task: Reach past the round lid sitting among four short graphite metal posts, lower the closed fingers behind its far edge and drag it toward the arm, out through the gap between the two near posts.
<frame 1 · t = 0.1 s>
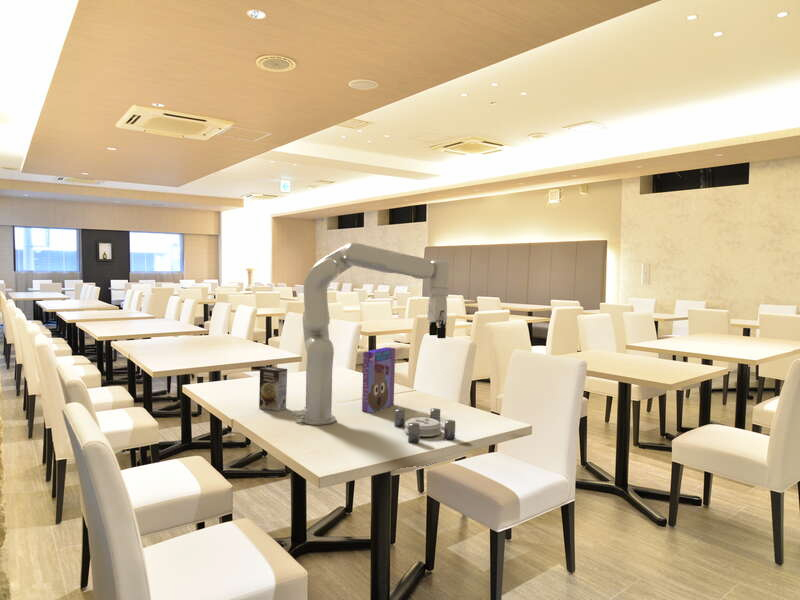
hand: (437, 336, 214), 31 cm above the table, tool pointing down, fingers open, 9 cm apart
post field: (424, 432, 192), on the table
lid: (422, 434, 192), on the table
coffee box: (272, 408, 221), on the table
cereal box: (378, 408, 226), on the table
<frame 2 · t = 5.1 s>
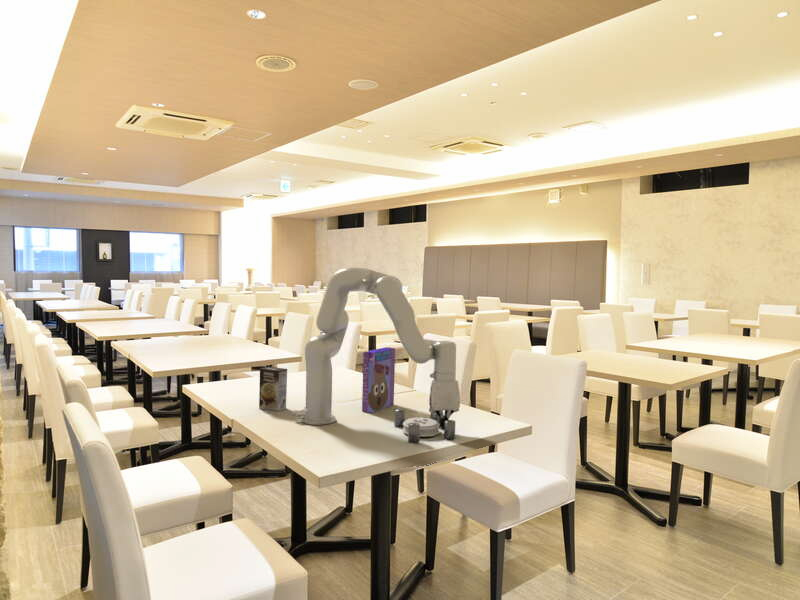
hand: (443, 428, 194), 1 cm above the table, tool pointing down, fingers closed
nothing on the table moved.
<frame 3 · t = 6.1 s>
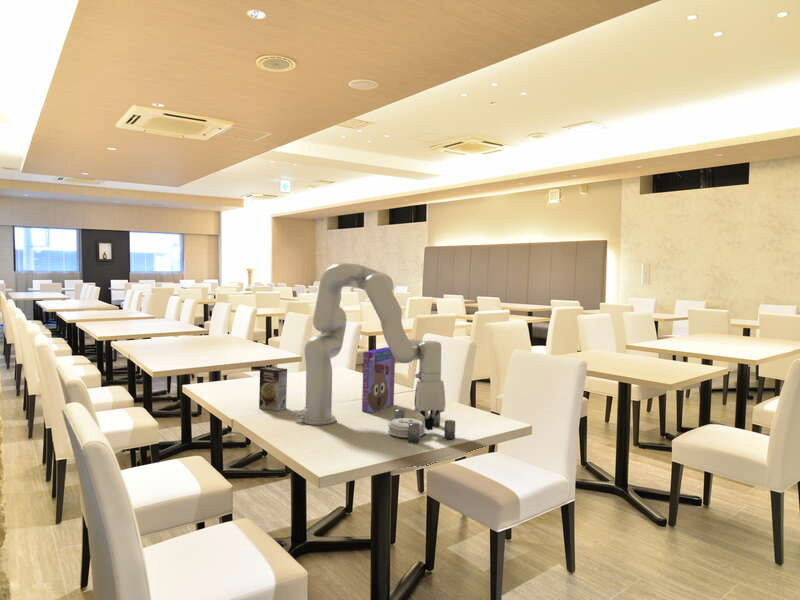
hand: (429, 429, 192), 1 cm above the table, tool pointing down, fingers closed
lid: (406, 435, 190), on the table, touching gripper
everything else where it was.
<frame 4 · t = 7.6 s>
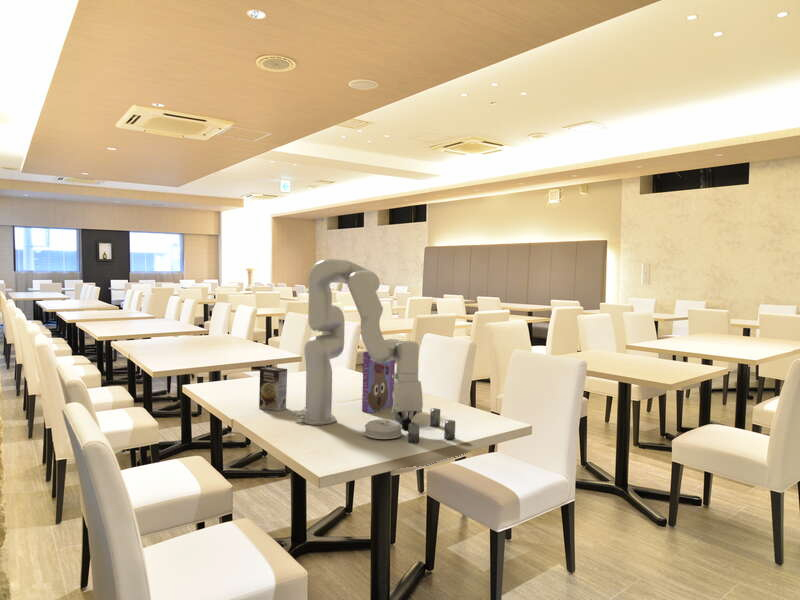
hand: (406, 430, 190), 1 cm above the table, tool pointing down, fingers closed
lid: (383, 436, 188), on the table
everything else where it was.
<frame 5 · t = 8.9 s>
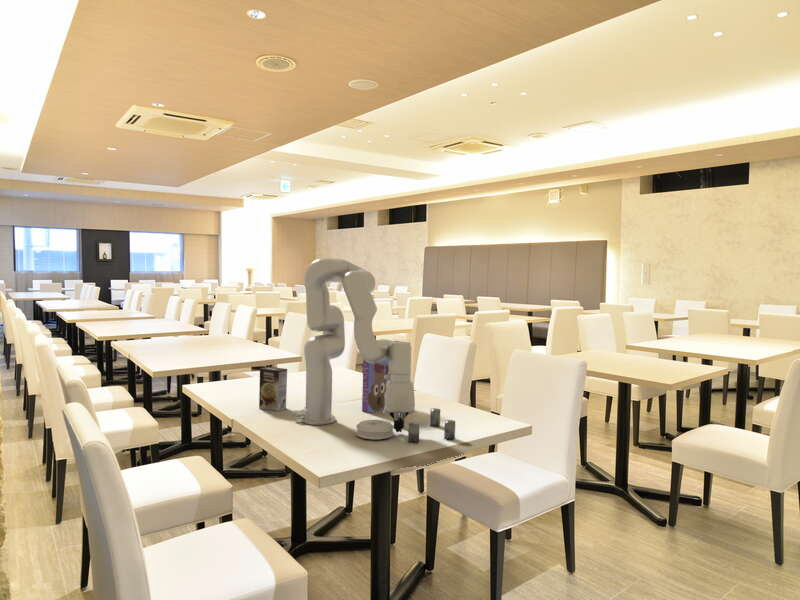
hand: (398, 430, 190), 1 cm above the table, tool pointing down, fingers closed
lid: (374, 437, 187), on the table
everything else where it was.
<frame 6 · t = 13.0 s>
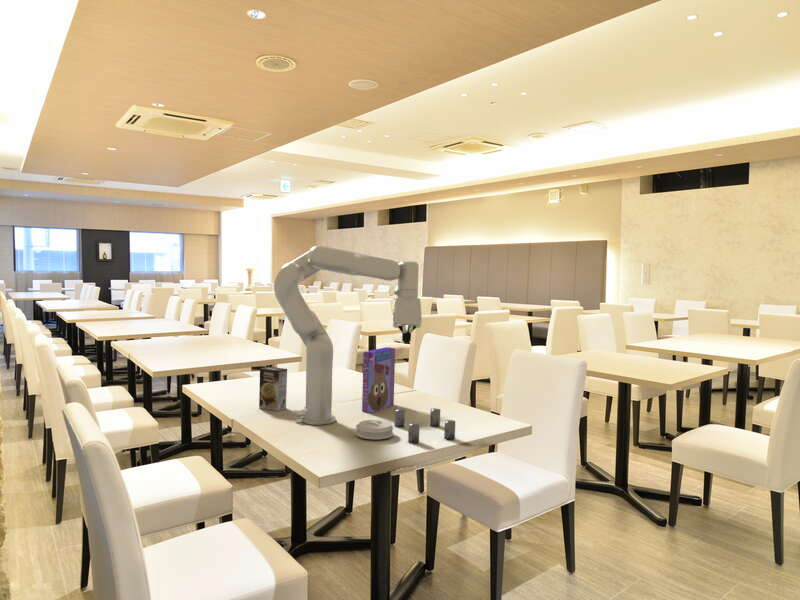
hand: (406, 343, 208), 29 cm above the table, tool pointing down, fingers closed
nothing on the table moved.
at the end: lid inside the target area (0.9 cm from its centre), on the table; lid moved 17.3 cm from its start; lid tilted 0° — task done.
